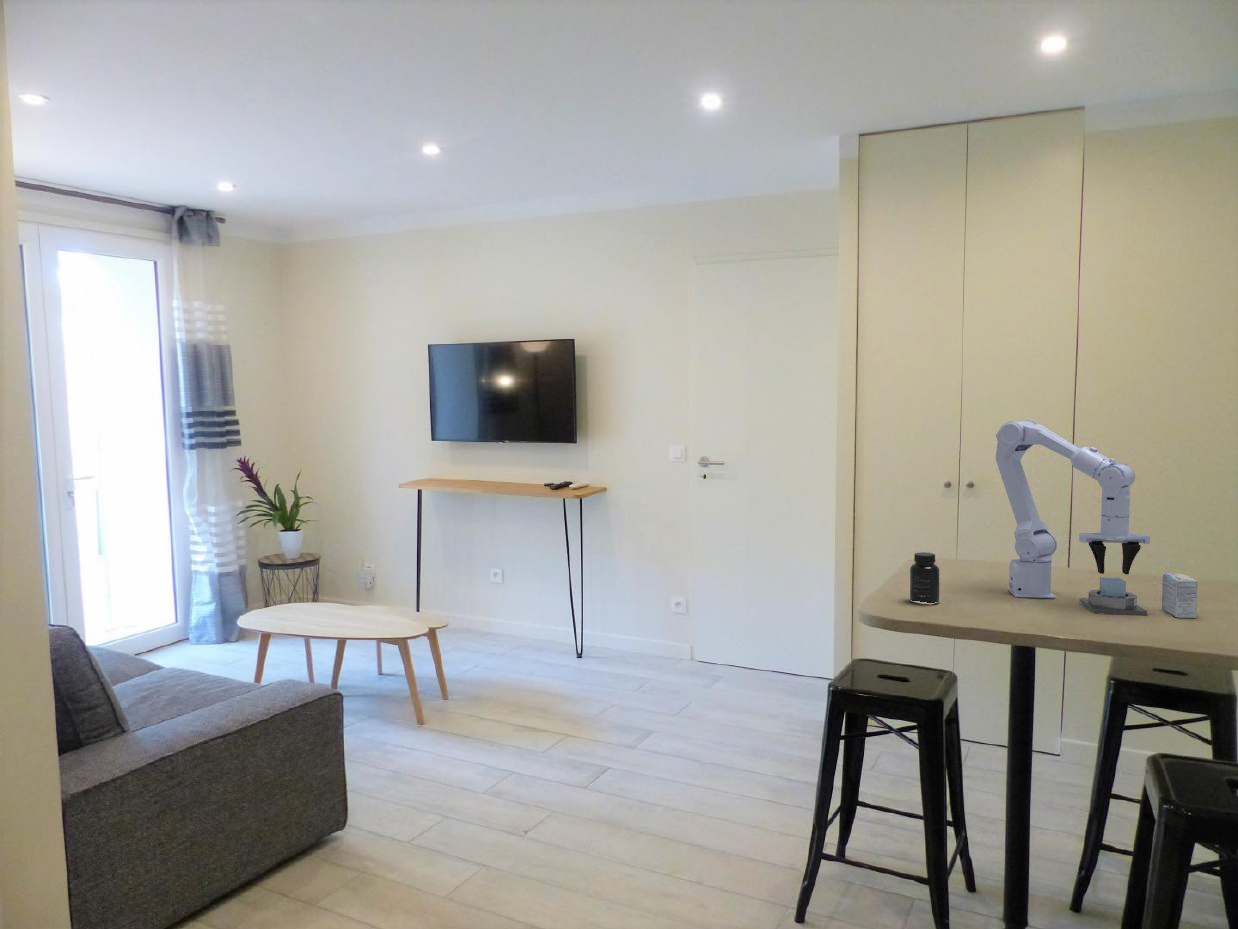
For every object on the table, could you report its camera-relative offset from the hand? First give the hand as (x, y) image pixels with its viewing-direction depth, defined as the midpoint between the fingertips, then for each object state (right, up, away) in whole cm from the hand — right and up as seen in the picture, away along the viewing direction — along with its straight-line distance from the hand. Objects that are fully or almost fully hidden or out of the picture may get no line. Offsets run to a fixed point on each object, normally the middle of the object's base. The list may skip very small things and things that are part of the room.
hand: (1113, 573), depth 204 cm
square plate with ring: (0, -8, +1) cm, 8 cm away
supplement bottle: (-41, -9, +9) cm, 43 cm away
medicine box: (+12, -9, -5) cm, 16 cm away
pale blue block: (0, -7, +1) cm, 7 cm away
